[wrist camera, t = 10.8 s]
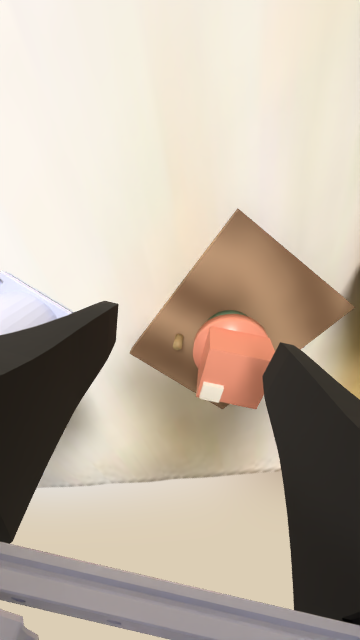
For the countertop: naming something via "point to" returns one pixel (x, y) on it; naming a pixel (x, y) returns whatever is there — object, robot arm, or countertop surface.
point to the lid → (232, 360)
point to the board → (240, 299)
